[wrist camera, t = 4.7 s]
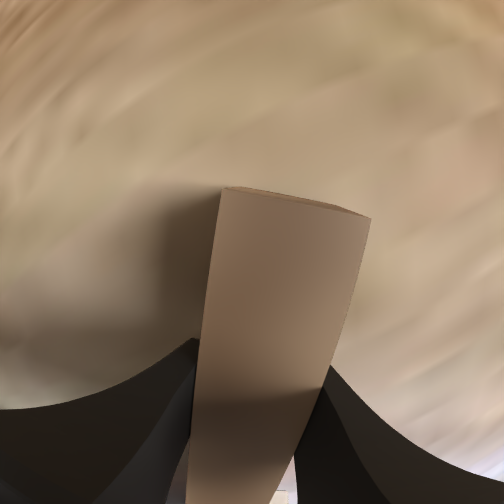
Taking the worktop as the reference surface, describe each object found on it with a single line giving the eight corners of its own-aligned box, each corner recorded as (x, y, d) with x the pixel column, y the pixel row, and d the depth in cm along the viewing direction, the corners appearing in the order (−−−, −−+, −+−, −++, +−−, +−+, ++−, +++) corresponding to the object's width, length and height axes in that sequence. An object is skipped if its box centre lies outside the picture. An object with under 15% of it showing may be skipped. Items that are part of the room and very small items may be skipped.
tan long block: (335, 205, 9) (371, 218, 6) (248, 498, 13) (243, 547, 9) (240, 186, 9) (222, 189, 6) (196, 489, 13) (183, 537, 9)
